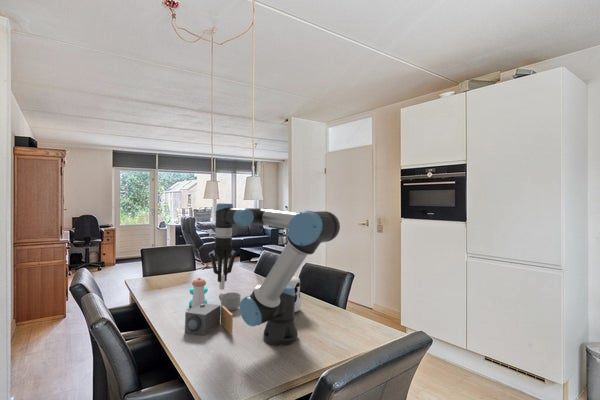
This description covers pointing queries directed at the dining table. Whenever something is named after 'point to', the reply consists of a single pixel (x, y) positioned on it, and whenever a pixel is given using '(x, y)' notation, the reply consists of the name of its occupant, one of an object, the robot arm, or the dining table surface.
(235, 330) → the dining table surface
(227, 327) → the side door
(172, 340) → the dining table surface
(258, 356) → the dining table surface
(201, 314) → the camera housing
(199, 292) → the salt shaker
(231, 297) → the teacup
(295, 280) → the milk container
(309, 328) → the dining table surface
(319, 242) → the robot arm
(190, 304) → the donuts
